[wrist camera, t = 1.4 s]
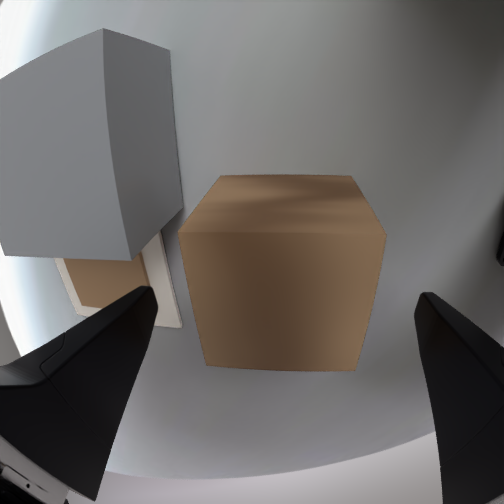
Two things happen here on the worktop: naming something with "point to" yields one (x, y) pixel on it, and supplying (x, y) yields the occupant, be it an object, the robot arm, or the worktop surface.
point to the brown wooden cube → (282, 271)
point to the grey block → (88, 150)
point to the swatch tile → (121, 281)
